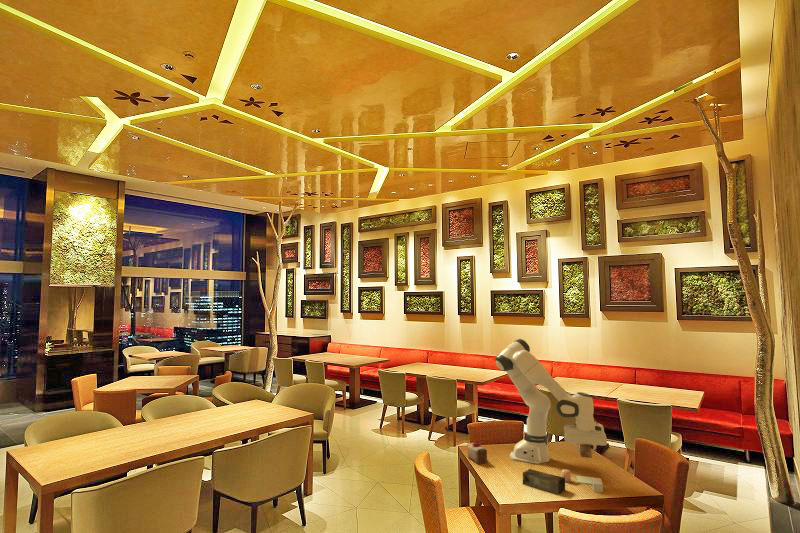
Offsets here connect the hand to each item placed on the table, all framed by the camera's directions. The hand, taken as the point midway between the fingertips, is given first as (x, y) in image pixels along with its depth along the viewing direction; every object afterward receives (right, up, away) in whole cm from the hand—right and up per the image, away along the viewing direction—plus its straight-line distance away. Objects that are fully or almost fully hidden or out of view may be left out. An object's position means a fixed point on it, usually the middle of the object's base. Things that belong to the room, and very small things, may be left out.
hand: (585, 452), depth 232 cm
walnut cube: (0, -2, 0) cm, 2 cm away
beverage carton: (-25, -14, -9) cm, 30 cm away
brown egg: (-10, -14, -1) cm, 18 cm away
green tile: (0, -14, -1) cm, 14 cm away
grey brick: (+1, -14, -11) cm, 17 cm away
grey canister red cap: (-51, -16, +28) cm, 60 cm away
